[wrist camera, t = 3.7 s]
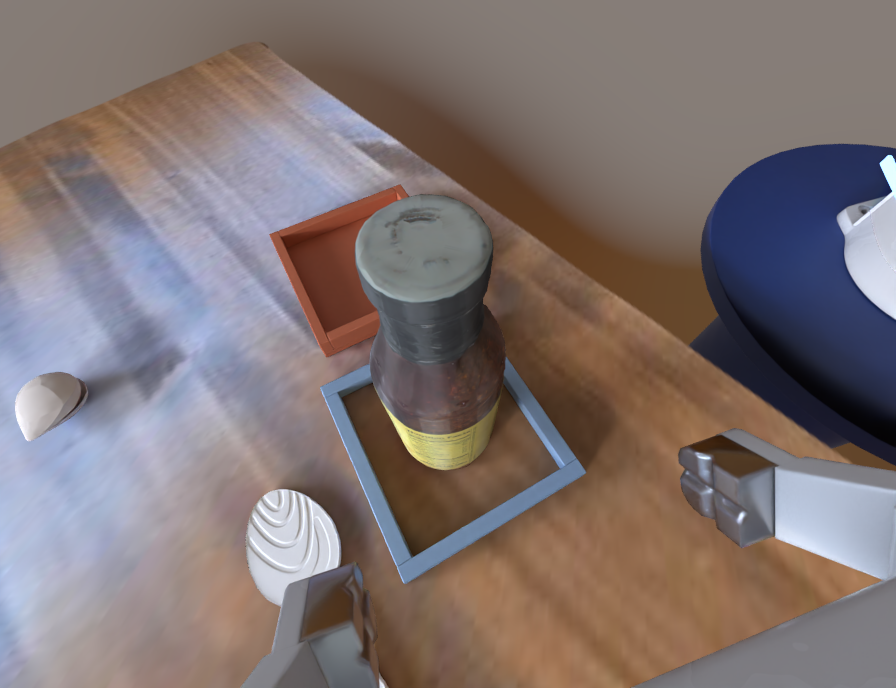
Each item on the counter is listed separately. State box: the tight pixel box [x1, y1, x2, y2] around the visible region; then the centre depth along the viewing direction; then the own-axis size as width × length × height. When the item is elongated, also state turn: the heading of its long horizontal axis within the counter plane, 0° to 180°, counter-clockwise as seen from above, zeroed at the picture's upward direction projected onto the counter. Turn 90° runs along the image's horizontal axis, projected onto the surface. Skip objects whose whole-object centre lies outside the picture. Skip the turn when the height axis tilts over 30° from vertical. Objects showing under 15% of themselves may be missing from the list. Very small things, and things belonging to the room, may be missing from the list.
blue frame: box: [320, 357, 586, 584], centre depth 29 cm, size 13×14×1 cm
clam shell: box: [15, 372, 88, 441], centre depth 30 cm, size 4×5×2 cm
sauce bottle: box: [355, 194, 506, 470], centre depth 21 cm, size 7×6×20 cm
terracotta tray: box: [269, 185, 409, 357], centre depth 36 cm, size 13×13×2 cm
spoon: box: [245, 489, 388, 688], centre depth 24 cm, size 5×18×1 cm, turn 37°
